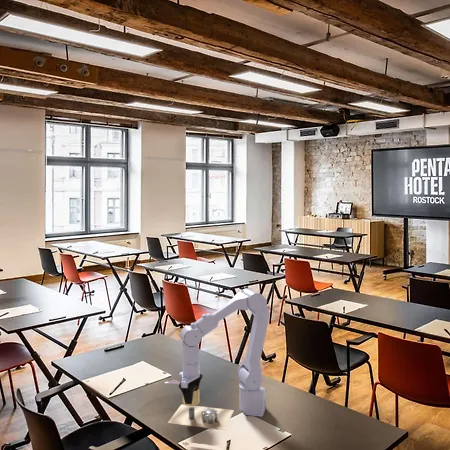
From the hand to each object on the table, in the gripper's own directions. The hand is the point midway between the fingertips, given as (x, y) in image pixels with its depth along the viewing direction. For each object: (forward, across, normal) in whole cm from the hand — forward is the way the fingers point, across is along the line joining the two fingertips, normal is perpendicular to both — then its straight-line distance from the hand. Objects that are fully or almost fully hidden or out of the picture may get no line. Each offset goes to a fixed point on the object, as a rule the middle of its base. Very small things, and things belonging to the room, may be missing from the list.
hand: (191, 399), depth 166 cm
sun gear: (+8, 0, +6) cm, 10 cm away
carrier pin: (+8, 0, 0) cm, 8 cm away
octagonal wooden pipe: (+1, 0, 0) cm, 1 cm away
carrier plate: (+8, -2, +3) cm, 9 cm away
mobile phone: (+8, -24, -14) cm, 29 cm away
